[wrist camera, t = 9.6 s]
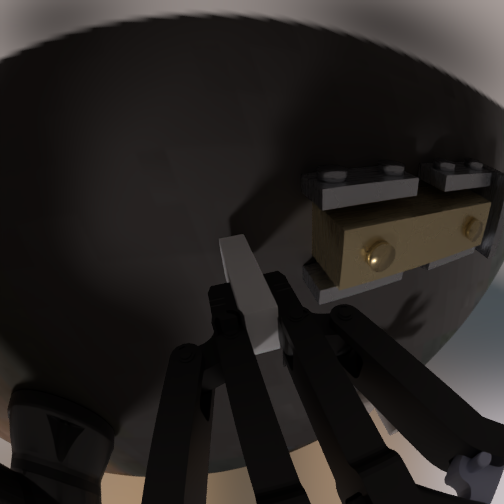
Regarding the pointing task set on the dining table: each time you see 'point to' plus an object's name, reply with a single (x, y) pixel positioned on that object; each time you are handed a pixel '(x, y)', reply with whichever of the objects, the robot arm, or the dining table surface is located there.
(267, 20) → the dining table surface
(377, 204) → the link
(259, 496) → the robot arm
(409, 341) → the dining table surface
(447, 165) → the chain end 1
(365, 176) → the chain end
